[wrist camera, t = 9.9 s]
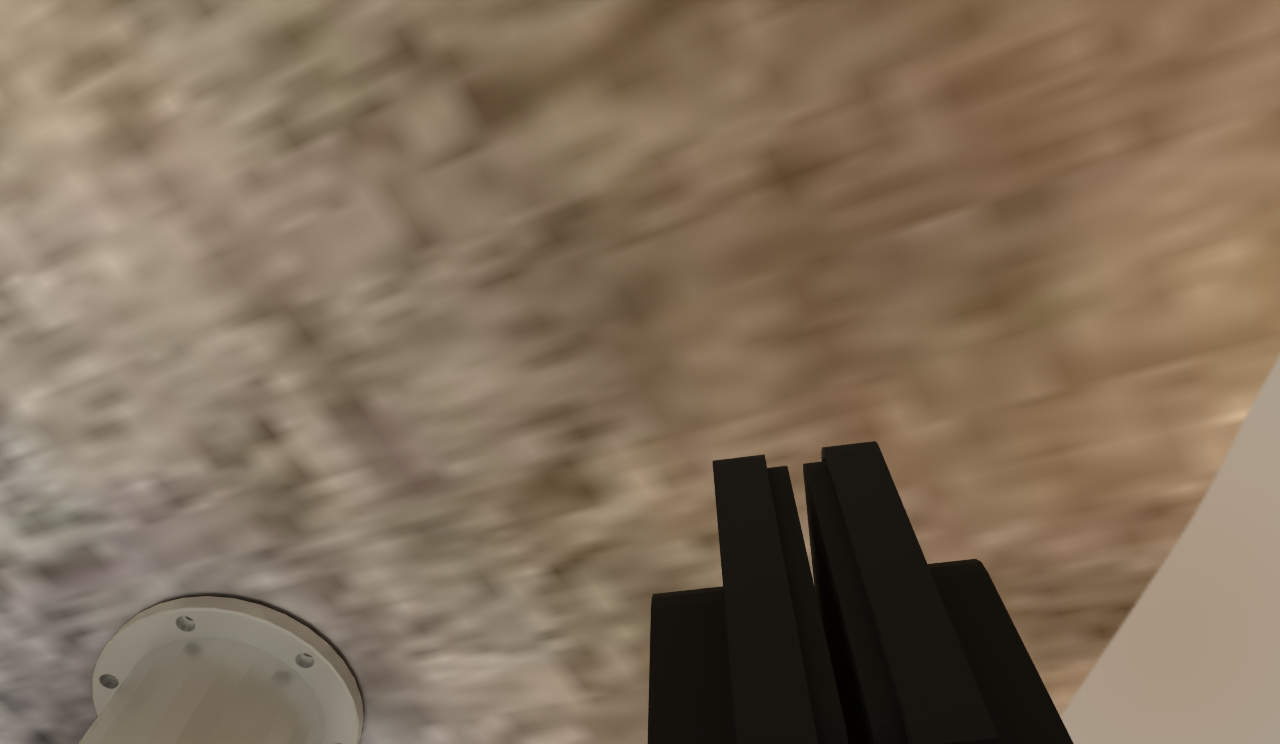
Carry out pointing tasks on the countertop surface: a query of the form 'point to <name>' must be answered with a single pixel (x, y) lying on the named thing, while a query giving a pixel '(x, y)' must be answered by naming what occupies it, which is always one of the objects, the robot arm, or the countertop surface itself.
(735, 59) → the countertop surface
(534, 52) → the countertop surface
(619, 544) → the countertop surface
